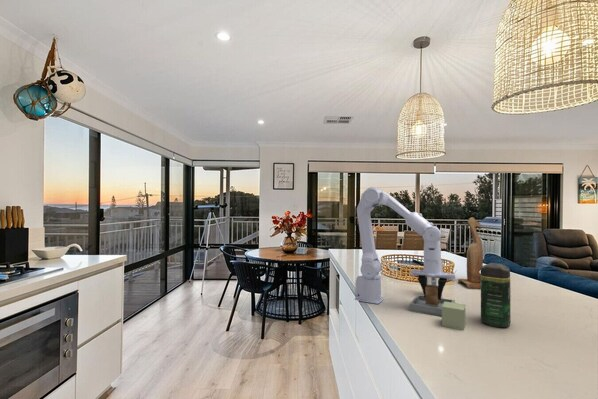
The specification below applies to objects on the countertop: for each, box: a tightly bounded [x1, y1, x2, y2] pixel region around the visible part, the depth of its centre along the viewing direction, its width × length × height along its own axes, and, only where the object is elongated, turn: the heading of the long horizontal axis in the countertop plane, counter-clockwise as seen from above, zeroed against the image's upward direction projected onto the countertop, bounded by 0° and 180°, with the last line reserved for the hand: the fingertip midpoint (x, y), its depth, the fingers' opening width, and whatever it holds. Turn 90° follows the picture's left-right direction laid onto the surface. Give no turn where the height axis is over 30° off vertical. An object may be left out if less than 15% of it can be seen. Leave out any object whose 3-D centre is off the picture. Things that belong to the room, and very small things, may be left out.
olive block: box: [441, 301, 467, 331], centre depth 94 cm, size 6×6×6 cm
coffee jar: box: [480, 262, 512, 328], centre depth 96 cm, size 10×8×19 cm
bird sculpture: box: [457, 216, 484, 290], centre depth 140 cm, size 11×12×32 cm
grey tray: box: [409, 294, 456, 317], centre depth 109 cm, size 13×13×2 cm
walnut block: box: [425, 284, 440, 306], centre depth 109 cm, size 4×4×6 cm
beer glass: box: [427, 259, 444, 298], centre depth 123 cm, size 7×7×15 cm
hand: (432, 297), depth 109 cm, fingers open, 4 cm apart
